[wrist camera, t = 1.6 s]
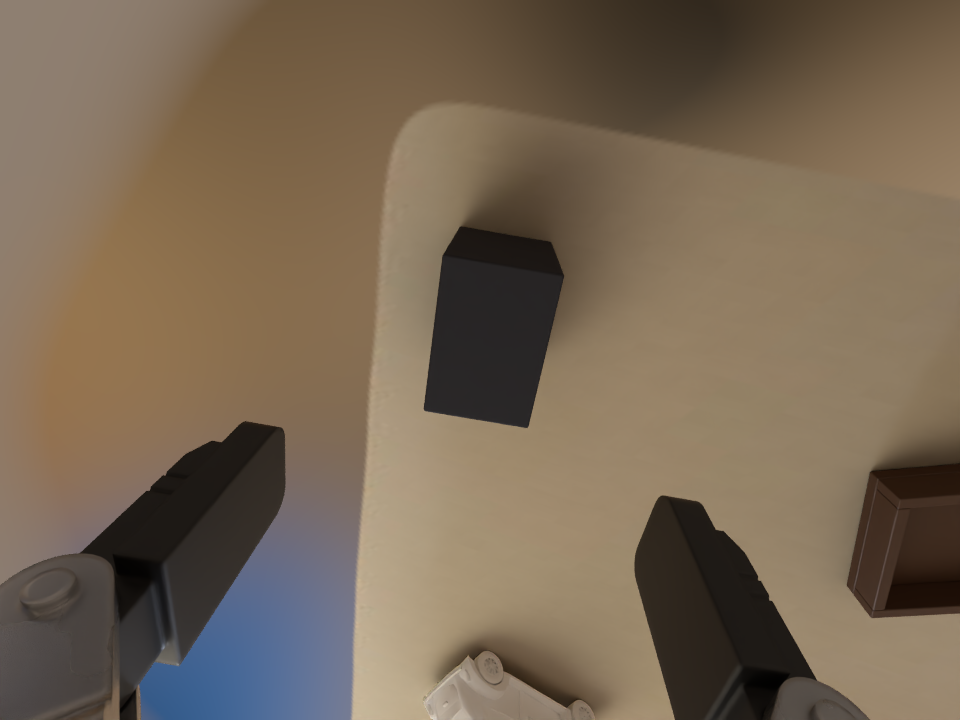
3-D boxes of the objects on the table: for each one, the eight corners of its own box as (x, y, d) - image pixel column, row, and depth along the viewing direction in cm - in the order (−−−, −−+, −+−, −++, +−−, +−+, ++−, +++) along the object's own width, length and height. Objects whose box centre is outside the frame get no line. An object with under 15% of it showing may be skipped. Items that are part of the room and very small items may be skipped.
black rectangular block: (442, 352, 23) (423, 411, 18) (459, 226, 20) (442, 253, 15) (524, 366, 23) (528, 429, 18) (552, 241, 20) (564, 274, 15)
